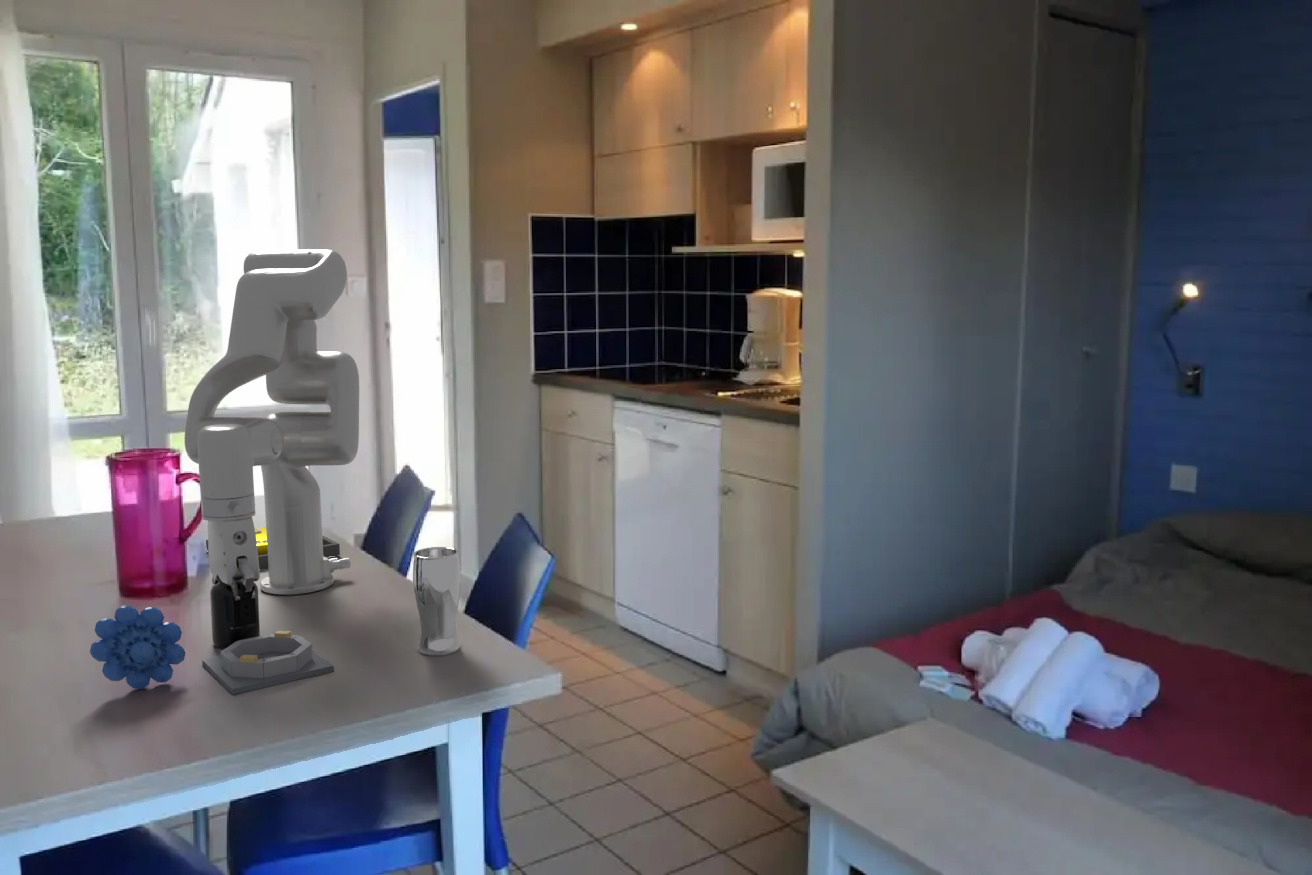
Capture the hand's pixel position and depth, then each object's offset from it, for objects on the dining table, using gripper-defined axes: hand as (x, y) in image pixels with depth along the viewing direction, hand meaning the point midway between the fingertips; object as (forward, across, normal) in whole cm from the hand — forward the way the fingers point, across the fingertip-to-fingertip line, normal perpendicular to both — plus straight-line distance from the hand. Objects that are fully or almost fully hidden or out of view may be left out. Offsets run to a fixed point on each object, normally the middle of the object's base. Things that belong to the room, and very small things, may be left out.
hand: (234, 616), depth 164 cm
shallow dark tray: (+4, +49, -22) cm, 54 cm away
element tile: (+4, +50, -21) cm, 54 cm away
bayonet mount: (+4, -14, 0) cm, 14 cm away
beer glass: (+4, -22, -23) cm, 32 cm away
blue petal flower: (+5, -12, +16) cm, 20 cm away
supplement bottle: (+4, 0, 0) cm, 4 cm away
